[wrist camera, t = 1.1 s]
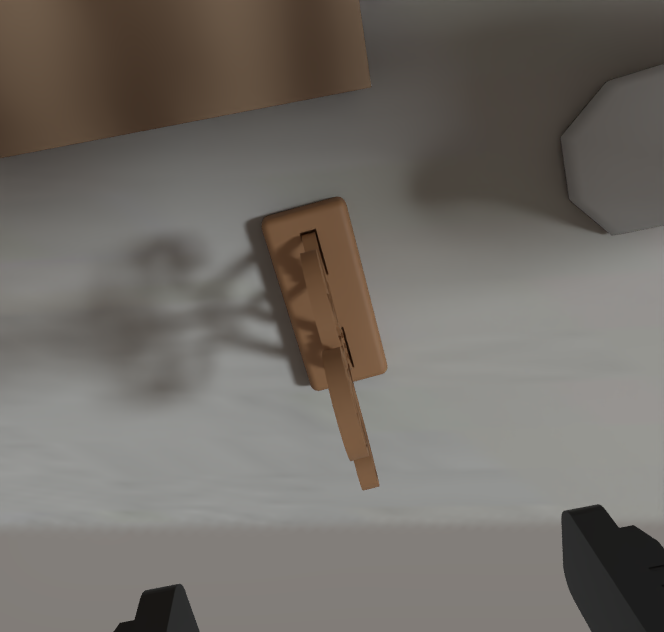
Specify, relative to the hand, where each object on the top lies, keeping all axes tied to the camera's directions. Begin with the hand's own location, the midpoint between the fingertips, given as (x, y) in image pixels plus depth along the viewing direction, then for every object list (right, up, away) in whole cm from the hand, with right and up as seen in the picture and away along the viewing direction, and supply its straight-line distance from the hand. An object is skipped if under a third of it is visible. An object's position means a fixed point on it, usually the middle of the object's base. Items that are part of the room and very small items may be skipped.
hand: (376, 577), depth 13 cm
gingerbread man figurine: (-1, +6, +17) cm, 18 cm away
